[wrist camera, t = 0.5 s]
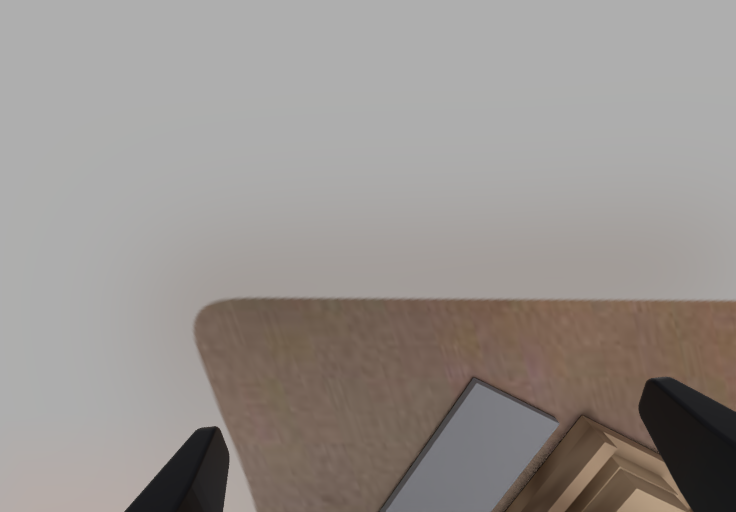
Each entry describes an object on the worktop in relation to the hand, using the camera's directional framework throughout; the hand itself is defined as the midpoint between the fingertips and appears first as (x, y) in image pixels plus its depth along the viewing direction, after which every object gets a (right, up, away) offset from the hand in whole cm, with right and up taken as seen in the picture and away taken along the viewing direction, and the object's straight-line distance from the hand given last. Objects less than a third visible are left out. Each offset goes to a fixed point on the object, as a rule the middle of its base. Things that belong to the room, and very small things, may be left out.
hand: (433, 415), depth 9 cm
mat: (+5, -11, +19) cm, 22 cm away
